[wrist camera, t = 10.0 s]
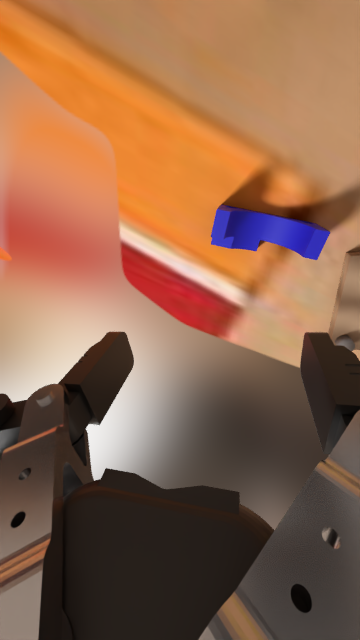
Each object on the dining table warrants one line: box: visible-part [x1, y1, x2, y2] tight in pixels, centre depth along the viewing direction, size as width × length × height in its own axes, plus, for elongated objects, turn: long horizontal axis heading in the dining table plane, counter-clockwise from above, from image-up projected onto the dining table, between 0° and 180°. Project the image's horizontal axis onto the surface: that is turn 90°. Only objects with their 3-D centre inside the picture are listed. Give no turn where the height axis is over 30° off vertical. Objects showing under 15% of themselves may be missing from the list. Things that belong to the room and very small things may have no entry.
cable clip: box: [211, 205, 330, 260], centre depth 29 cm, size 12×4×6 cm, turn 81°
